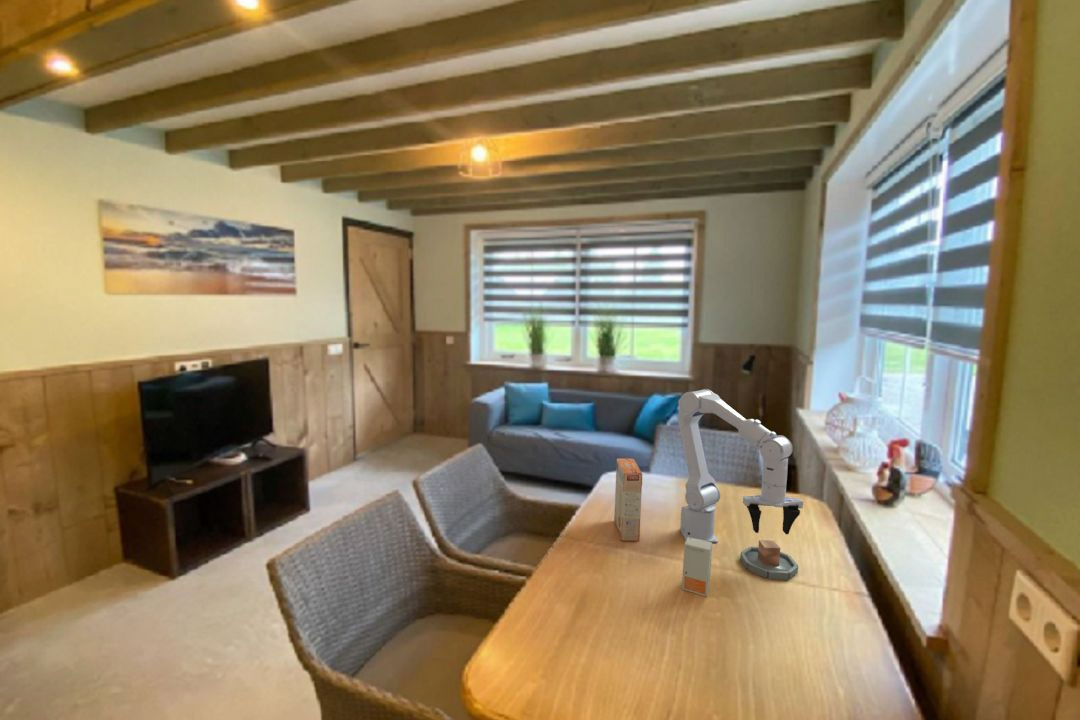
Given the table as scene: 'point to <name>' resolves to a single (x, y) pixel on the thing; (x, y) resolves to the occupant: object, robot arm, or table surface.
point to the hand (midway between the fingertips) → (770, 531)
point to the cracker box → (628, 499)
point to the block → (769, 553)
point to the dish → (782, 571)
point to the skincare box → (697, 566)
